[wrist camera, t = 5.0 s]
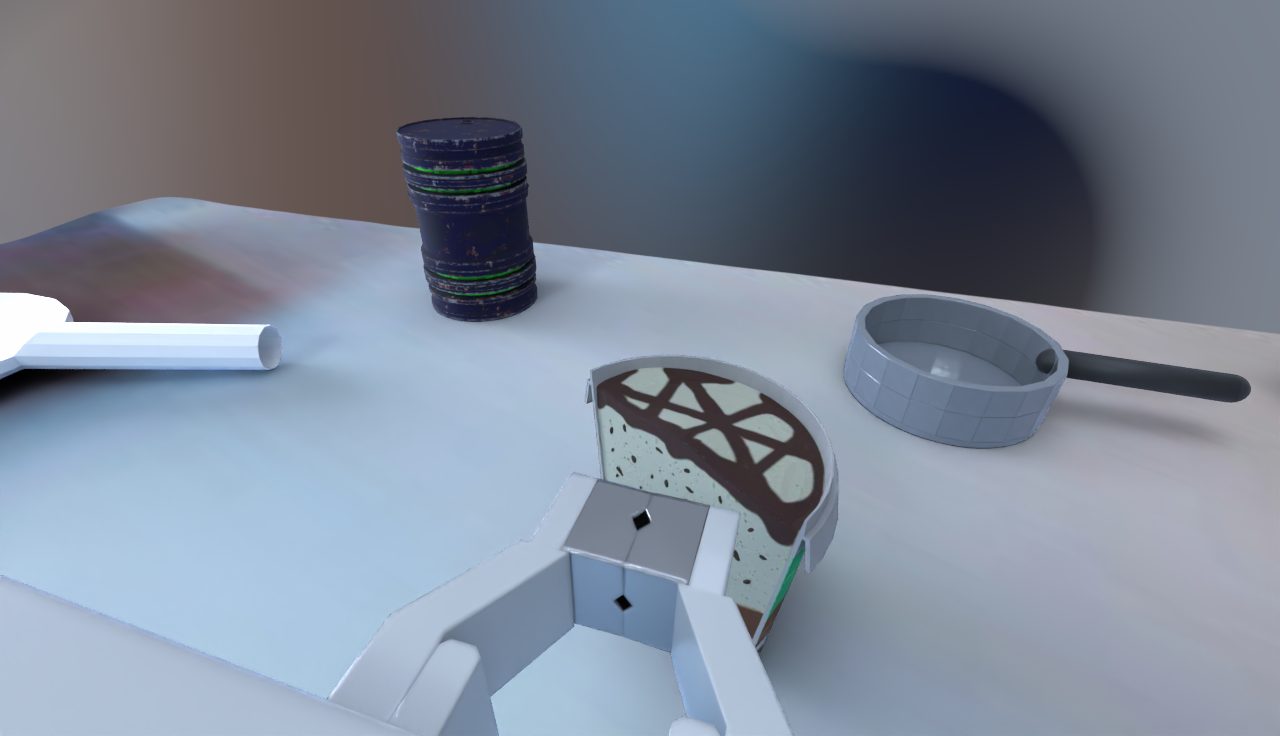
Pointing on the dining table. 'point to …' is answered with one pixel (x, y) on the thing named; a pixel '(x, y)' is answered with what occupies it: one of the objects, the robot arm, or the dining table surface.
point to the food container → (724, 462)
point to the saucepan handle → (1149, 376)
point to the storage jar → (471, 214)
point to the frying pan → (124, 342)
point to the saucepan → (952, 370)
